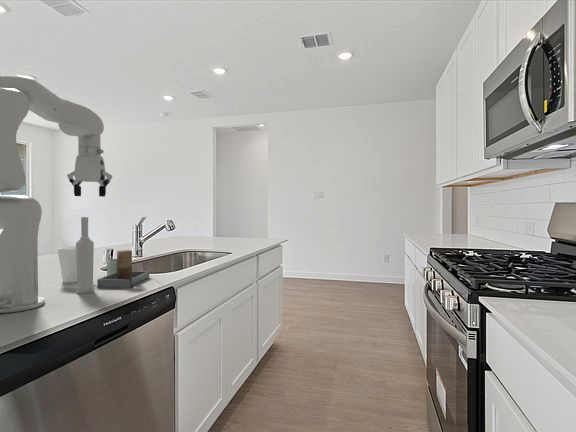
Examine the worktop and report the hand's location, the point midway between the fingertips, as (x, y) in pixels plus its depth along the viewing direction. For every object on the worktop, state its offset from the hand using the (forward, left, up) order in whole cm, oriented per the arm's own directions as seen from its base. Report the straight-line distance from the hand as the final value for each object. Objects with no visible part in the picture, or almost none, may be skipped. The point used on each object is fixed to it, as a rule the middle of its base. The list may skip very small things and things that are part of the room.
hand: (89, 196), depth 133 cm
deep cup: (+5, -8, -32) cm, 34 cm away
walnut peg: (-8, -17, -31) cm, 37 cm away
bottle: (-21, -10, -33) cm, 40 cm away
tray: (-8, -17, -32) cm, 38 cm away
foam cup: (-7, +3, -33) cm, 33 cm away
